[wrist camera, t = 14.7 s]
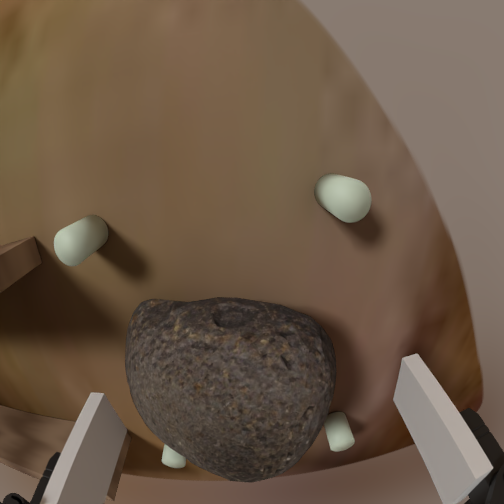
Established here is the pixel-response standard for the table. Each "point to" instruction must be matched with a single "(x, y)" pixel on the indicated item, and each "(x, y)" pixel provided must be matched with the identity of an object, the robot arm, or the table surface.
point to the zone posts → (327, 195)
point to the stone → (231, 382)
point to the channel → (28, 424)
